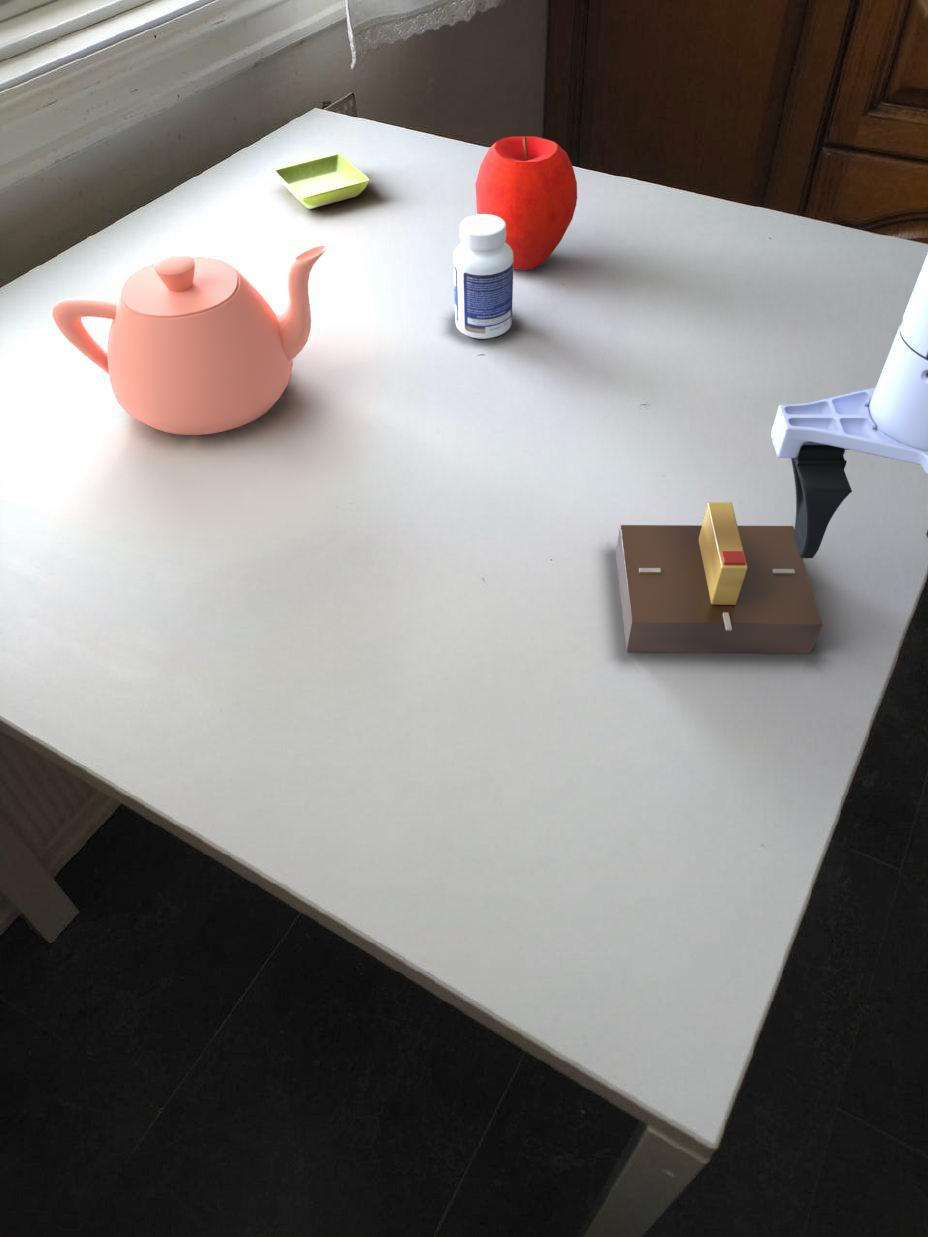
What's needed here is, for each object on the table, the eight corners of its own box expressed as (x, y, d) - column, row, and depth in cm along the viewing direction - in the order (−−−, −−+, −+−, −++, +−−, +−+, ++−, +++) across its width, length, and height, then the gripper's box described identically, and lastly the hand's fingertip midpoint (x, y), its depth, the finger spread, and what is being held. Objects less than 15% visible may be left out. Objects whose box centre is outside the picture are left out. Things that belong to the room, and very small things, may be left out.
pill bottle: (523, 325, 85) (527, 224, 78) (481, 347, 83) (480, 245, 76) (485, 303, 88) (485, 203, 81) (443, 323, 86) (439, 223, 78)
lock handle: (698, 539, 62) (708, 498, 59) (721, 539, 62) (732, 498, 59) (711, 605, 58) (722, 564, 55) (736, 605, 58) (749, 564, 55)
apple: (573, 239, 96) (582, 116, 87) (571, 287, 90) (580, 160, 80) (480, 236, 97) (479, 114, 87) (471, 283, 90) (469, 157, 81)
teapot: (335, 331, 85) (316, 201, 76) (355, 428, 76) (336, 292, 66) (96, 362, 83) (46, 231, 73) (85, 466, 73) (26, 331, 64)
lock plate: (781, 550, 65) (792, 517, 63) (812, 661, 59) (826, 630, 56) (614, 548, 66) (619, 517, 63) (627, 659, 59) (633, 628, 57)
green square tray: (302, 216, 100) (299, 198, 99) (274, 187, 106) (271, 168, 104) (373, 198, 103) (371, 179, 102) (342, 170, 108) (340, 152, 107)
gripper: (826, 389, 39) (756, 596, 50) (1165, 389, 39) (1023, 598, 49) (792, 303, 44) (734, 509, 54) (1095, 302, 44) (979, 510, 54)
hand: (869, 546), depth 52 cm, fingers open, 7 cm apart
